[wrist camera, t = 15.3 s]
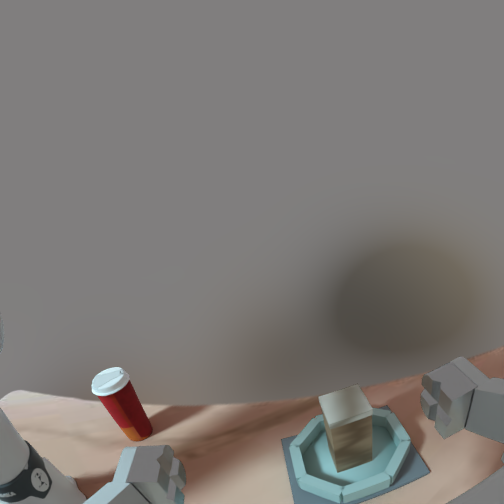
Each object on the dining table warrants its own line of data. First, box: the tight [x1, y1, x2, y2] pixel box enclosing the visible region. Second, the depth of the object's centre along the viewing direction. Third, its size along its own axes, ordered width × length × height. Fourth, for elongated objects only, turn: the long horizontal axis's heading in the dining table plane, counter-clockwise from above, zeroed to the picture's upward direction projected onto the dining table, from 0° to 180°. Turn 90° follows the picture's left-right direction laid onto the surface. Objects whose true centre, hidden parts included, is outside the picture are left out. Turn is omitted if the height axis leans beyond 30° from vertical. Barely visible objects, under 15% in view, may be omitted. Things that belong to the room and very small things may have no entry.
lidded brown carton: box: [318, 384, 373, 473], centre depth 33 cm, size 5×5×11 cm
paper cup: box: [92, 367, 152, 441], centre depth 49 cm, size 8×8×14 cm
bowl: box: [289, 408, 411, 503], centre depth 35 cm, size 16×16×3 cm
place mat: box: [281, 405, 430, 504], centre depth 35 cm, size 18×16×1 cm
